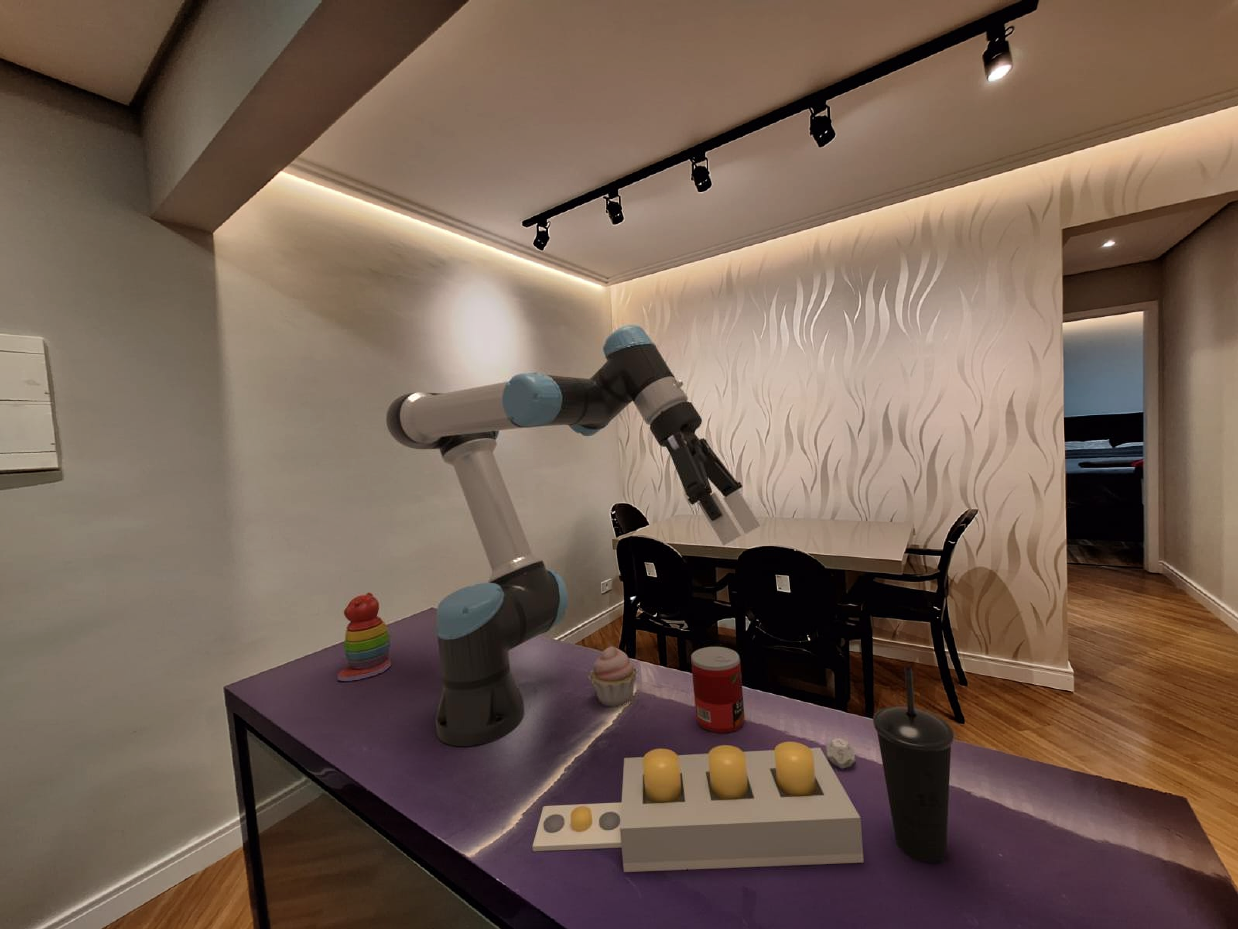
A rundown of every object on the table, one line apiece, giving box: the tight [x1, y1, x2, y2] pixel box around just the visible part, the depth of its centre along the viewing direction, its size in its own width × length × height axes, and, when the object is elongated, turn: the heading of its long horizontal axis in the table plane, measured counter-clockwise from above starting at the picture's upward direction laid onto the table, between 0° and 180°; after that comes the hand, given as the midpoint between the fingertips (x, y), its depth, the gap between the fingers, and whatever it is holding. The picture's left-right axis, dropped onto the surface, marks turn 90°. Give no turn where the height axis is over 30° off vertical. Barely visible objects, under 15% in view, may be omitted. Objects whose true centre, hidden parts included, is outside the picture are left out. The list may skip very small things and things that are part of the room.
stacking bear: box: [338, 592, 391, 677], centre depth 113 cm, size 11×10×18 cm
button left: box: [642, 748, 681, 803], centre depth 59 cm, size 4×4×4 cm
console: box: [620, 747, 865, 873], centre depth 59 cm, size 26×12×5 cm, turn 87°
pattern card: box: [532, 801, 622, 852], centre depth 61 cm, size 11×6×2 cm, turn 87°
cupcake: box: [588, 645, 639, 707], centre depth 91 cm, size 9×9×10 cm
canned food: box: [690, 646, 745, 734], centre depth 81 cm, size 8×8×11 cm
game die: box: [826, 737, 856, 770], centre depth 68 cm, size 4×4×3 cm
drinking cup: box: [872, 666, 955, 864], centre depth 54 cm, size 8×8×20 cm
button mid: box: [707, 744, 748, 800], centre depth 59 cm, size 4×4×4 cm
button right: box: [774, 741, 816, 797], centre depth 58 cm, size 4×4×4 cm
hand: (744, 534), depth 69 cm, fingers open, 13 cm apart
